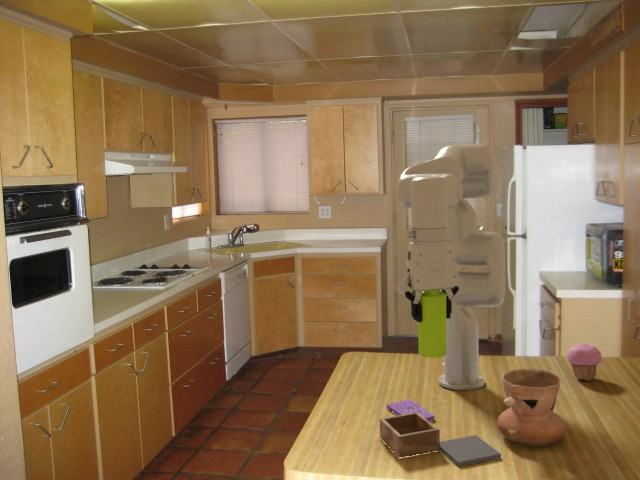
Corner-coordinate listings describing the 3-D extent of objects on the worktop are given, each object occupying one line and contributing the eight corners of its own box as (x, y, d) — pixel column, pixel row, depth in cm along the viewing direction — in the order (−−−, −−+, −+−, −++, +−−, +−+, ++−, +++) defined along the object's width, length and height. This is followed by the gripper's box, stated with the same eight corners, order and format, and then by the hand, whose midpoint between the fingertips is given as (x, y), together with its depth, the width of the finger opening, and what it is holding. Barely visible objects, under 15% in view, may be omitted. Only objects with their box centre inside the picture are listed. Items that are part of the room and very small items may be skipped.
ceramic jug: (535, 461, 137) (535, 395, 135) (480, 438, 148) (479, 378, 146) (584, 436, 147) (585, 374, 145) (529, 417, 159) (529, 360, 157)
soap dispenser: (449, 348, 144) (449, 258, 141) (443, 358, 138) (443, 264, 135) (422, 346, 146) (422, 258, 143) (416, 356, 140) (415, 263, 137)
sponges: (410, 428, 157) (410, 420, 157) (386, 409, 168) (385, 402, 168) (435, 422, 159) (435, 415, 159) (410, 404, 171) (409, 397, 171)
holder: (380, 439, 150) (379, 418, 149) (418, 432, 153) (417, 411, 152) (399, 459, 140) (398, 437, 139) (440, 451, 143) (439, 429, 142)
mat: (435, 446, 145) (435, 442, 145) (476, 439, 148) (475, 435, 148) (458, 466, 136) (458, 462, 135) (500, 458, 139) (500, 453, 138)
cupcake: (604, 376, 184) (604, 341, 183) (598, 386, 177) (598, 350, 175) (570, 372, 189) (570, 338, 187) (563, 381, 181) (563, 346, 180)
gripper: (398, 241, 132) (401, 328, 135) (475, 234, 137) (476, 318, 139) (384, 236, 140) (387, 319, 142) (458, 230, 144) (459, 310, 147)
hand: (431, 318), depth 141 cm, fingers closed on soap dispenser, 5 cm apart
